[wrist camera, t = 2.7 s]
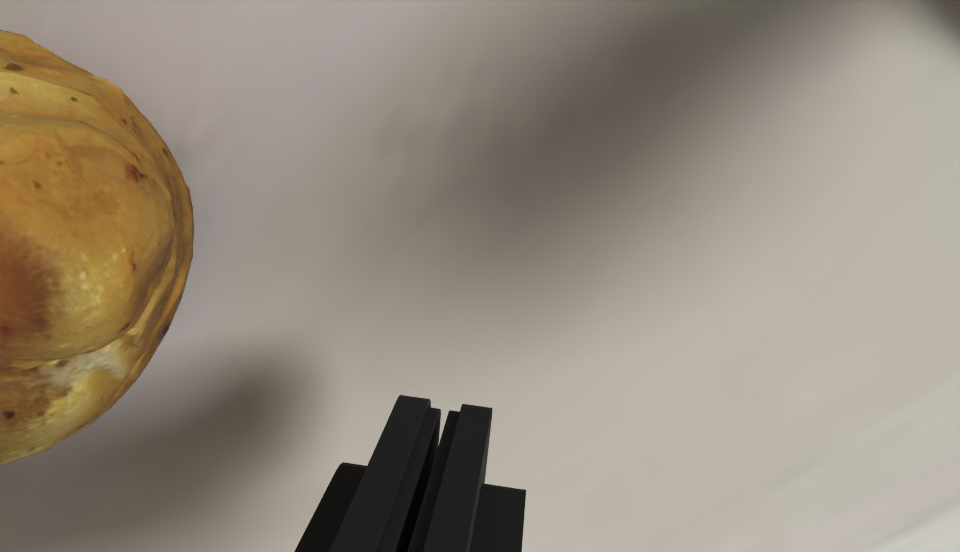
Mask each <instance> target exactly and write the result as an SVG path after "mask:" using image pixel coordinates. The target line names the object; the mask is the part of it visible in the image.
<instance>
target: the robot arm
mask: <svg viewBox="0 0 960 552" xmlns="http://www.w3.org/2000/svg"><path fill="white" fill-rule="evenodd" d="M440 417H441V410H440V409H436V408H431V402H430V399H424V398H417V397H410V396H403V395H400V396H399V397H398V399H397V401H396V403H395V405H394V408H393V410H392V412H391V414H390V417H389V419H388V421H387V423H386V426H385V428H384V430H383V432H382V435H381V437H380V439H379V441H378V443H377V446H376V448H375V450H374V452H373V455H372V457H371V459H370V461H369V464H368V466H363V465H357V464H350V463H344V462H343V463H342V464H340V465H339V467H338V469H337V470H336V472H335V474H334V476H333V478H332V480H331V482H330V484H329V486H328V488H327V489H326V491H325V493H324V495H323V497H322V499H321V501H320V503H319V505H318V507H317V509H316V511H315V513H314V515H313V517H312V519H311V521H310V523H309V524H308V526H307V528H306V530H305V532H304V534H303V536H302V538H301V540H300V542H299V544H298V546H297V548H296V550H295V552H521V550H522V537H523V524H524V510H525V497H526V490H522V489H515V488H509V487H502V486H495V485H489V484H484V482H485V473H486V464H487V455H488V446H489V437H490V428H491V419H492V408H488V407H481V406H474V405H467V404H462V407H461V410H460V412H457V411H449V413H448V416H447V420H446V423H445V426H444V430H443V433H442V436H441V440H440V443H439V430H440ZM438 444H439V447H438Z"/></svg>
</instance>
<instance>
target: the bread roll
mask: <svg viewBox="0 0 960 552" xmlns="http://www.w3.org/2000/svg"><path fill="white" fill-rule="evenodd" d="M193 237H194V222H193V208H192V202H191V197H190V191H189V188H188V186H187V185H186V183H185V181H184V178H183V175H182V173H181V171H180V169H179V167H178V165H177V163H176V161H175V159H174V157H173V156H172V154H171V152H170V150H169V148H168V147H167V145H166V143H165V142H164V141H163V139H162V138H161V136H160V135H159V134H158V132H157V131H156V130H155V128H154V127H153V126H152V124H151V123H150V122H149V120H148V119H147V118H146V117H145V116H144V115H143V114H141V112H140V111H139V110H138V109H137V107H136V106H135V105H134V104H133V102H132V101H131V100H130V99H129V98H128V97H127V96H126V95H125V94H124V93H123V92H122V90H121V89H120V88H118V87H117V86H115V85H114V84H112V83H110V82H109V81H107V80H106V79H102V78H98V77H95V76H94V75H92V74H91V73H89V72H88V71H86V70H84V69H82V68H79V67H77V66H75V65H73V64H71V63H69V62H67V61H65V60H63V59H62V58H60V57H59V56H57V55H55V54H54V53H52V52H51V51H49V50H48V49H46V48H44V47H42V46H40V45H37V44H36V43H34V42H33V41H32V40H30V39H29V38H28V37H26V36H25V35H21V34H16V33H12V32H8V31H3V30H0V465H2V464H6V463H8V462H11V461H14V460H17V459H20V458H23V457H26V456H29V455H33V454H36V453H39V452H42V451H45V450H48V449H50V448H52V447H53V446H54V445H56V444H57V443H59V442H60V441H61V440H63V439H65V438H67V437H69V436H71V435H73V434H74V433H76V432H78V431H80V430H82V429H84V428H85V427H87V426H88V425H90V424H91V423H92V422H94V421H95V420H97V419H98V418H99V417H100V416H101V415H103V414H104V413H105V412H106V411H107V410H108V409H110V408H111V407H112V406H113V405H114V404H115V402H116V401H117V400H118V399H119V398H120V397H121V396H122V395H123V394H124V393H125V392H126V391H127V390H128V389H129V388H130V387H131V386H132V385H133V383H134V382H135V381H136V380H137V378H138V377H139V376H140V375H141V373H142V371H143V370H144V369H145V368H146V366H147V364H148V363H149V361H150V359H151V358H152V356H153V354H154V353H155V351H156V349H157V348H158V346H159V344H160V343H161V341H162V339H163V338H164V336H165V334H166V333H167V331H168V329H169V327H170V324H171V322H172V320H173V317H174V315H175V312H176V310H177V308H178V305H179V303H180V301H181V298H182V295H183V291H184V288H185V284H186V280H187V277H188V273H189V269H190V265H191V261H192V257H193Z"/></svg>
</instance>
